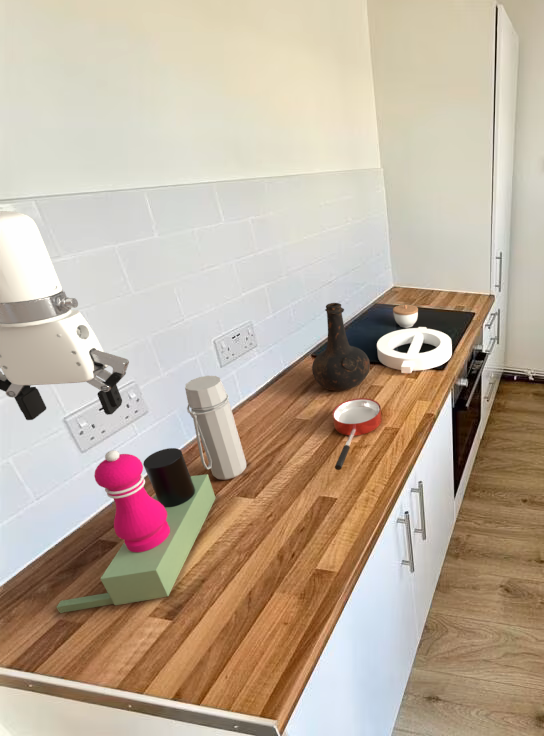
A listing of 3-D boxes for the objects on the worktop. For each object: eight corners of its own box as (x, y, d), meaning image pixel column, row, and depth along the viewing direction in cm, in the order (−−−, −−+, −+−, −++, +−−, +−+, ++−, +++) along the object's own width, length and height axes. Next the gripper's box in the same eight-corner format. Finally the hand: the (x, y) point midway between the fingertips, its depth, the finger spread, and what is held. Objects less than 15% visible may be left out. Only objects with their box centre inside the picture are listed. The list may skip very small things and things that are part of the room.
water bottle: (229, 458, 109) (203, 372, 98) (255, 465, 107) (232, 378, 96) (197, 483, 101) (165, 392, 90) (224, 490, 99) (195, 398, 88)
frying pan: (380, 480, 105) (378, 460, 102) (322, 488, 102) (319, 467, 99) (382, 408, 132) (380, 390, 130) (337, 412, 129) (334, 394, 126)
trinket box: (405, 318, 199) (404, 299, 195) (423, 324, 194) (422, 304, 190) (388, 325, 190) (387, 305, 186) (407, 331, 186) (406, 311, 181)
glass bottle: (326, 404, 133) (312, 320, 121) (307, 380, 145) (292, 301, 133) (380, 386, 144) (373, 307, 132) (358, 366, 156) (349, 292, 143)
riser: (58, 615, 73) (40, 588, 69) (132, 508, 93) (121, 484, 90) (168, 596, 76) (156, 570, 73) (215, 498, 97) (207, 474, 94)
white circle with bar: (405, 378, 149) (404, 366, 147) (363, 351, 166) (362, 340, 164) (466, 355, 168) (466, 344, 166) (423, 333, 185) (423, 322, 183)
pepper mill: (113, 549, 76) (67, 461, 68) (152, 518, 83) (116, 434, 74) (145, 559, 75) (104, 470, 66) (183, 527, 81) (150, 442, 73)
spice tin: (153, 509, 85) (136, 470, 80) (167, 487, 90) (152, 449, 86) (188, 505, 86) (173, 466, 82) (200, 484, 91) (186, 446, 87)
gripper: (120, 297, 64) (154, 395, 71) (-29, 299, 60) (24, 403, 67) (89, 315, 57) (130, 421, 65) (-80, 319, 53) (-16, 432, 61)
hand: (76, 412), depth 66 cm, fingers open, 9 cm apart
